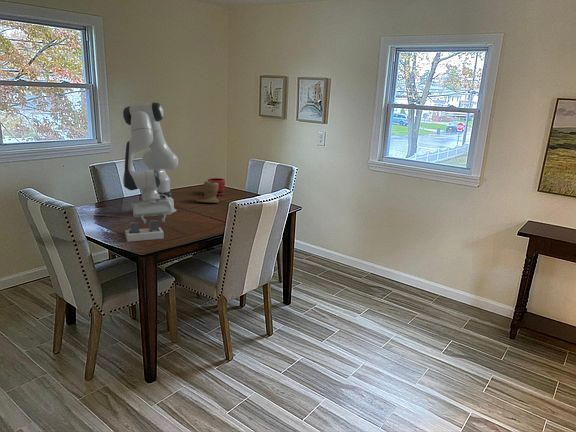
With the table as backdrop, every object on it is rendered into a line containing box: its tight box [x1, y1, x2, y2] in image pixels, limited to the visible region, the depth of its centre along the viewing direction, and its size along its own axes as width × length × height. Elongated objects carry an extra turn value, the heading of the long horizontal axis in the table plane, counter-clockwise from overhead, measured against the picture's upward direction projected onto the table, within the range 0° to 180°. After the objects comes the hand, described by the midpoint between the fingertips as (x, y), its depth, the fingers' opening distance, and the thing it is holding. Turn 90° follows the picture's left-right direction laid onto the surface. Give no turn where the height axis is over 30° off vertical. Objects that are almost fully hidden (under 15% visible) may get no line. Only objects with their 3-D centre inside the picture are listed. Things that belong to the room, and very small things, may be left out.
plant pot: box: [207, 177, 226, 197], centre depth 329 cm, size 13×13×12 cm
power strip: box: [125, 221, 165, 243], centre depth 231 cm, size 19×18×8 cm
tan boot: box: [196, 180, 220, 204], centre depth 305 cm, size 15×12×15 cm
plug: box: [149, 219, 160, 232], centre depth 229 cm, size 3×4×9 cm
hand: (154, 222), depth 230 cm, fingers open, 8 cm apart
